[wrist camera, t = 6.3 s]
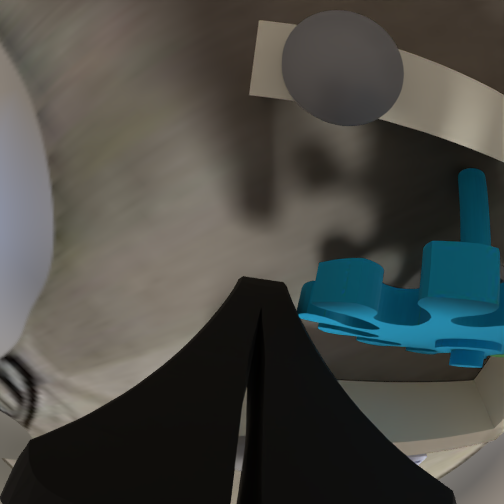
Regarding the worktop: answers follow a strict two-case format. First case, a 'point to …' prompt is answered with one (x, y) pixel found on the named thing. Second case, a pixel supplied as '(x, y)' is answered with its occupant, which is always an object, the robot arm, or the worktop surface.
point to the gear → (422, 293)
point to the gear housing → (413, 116)
